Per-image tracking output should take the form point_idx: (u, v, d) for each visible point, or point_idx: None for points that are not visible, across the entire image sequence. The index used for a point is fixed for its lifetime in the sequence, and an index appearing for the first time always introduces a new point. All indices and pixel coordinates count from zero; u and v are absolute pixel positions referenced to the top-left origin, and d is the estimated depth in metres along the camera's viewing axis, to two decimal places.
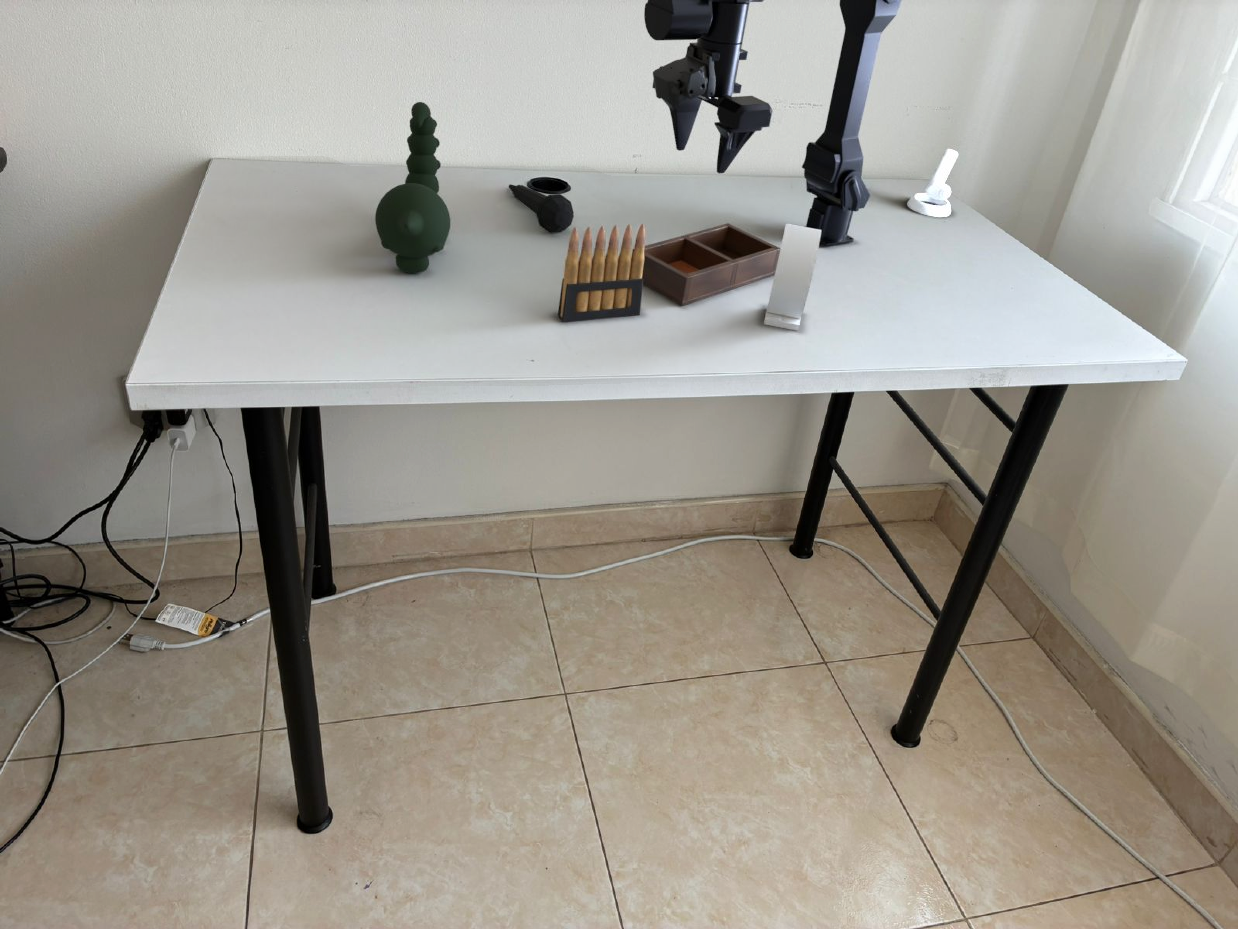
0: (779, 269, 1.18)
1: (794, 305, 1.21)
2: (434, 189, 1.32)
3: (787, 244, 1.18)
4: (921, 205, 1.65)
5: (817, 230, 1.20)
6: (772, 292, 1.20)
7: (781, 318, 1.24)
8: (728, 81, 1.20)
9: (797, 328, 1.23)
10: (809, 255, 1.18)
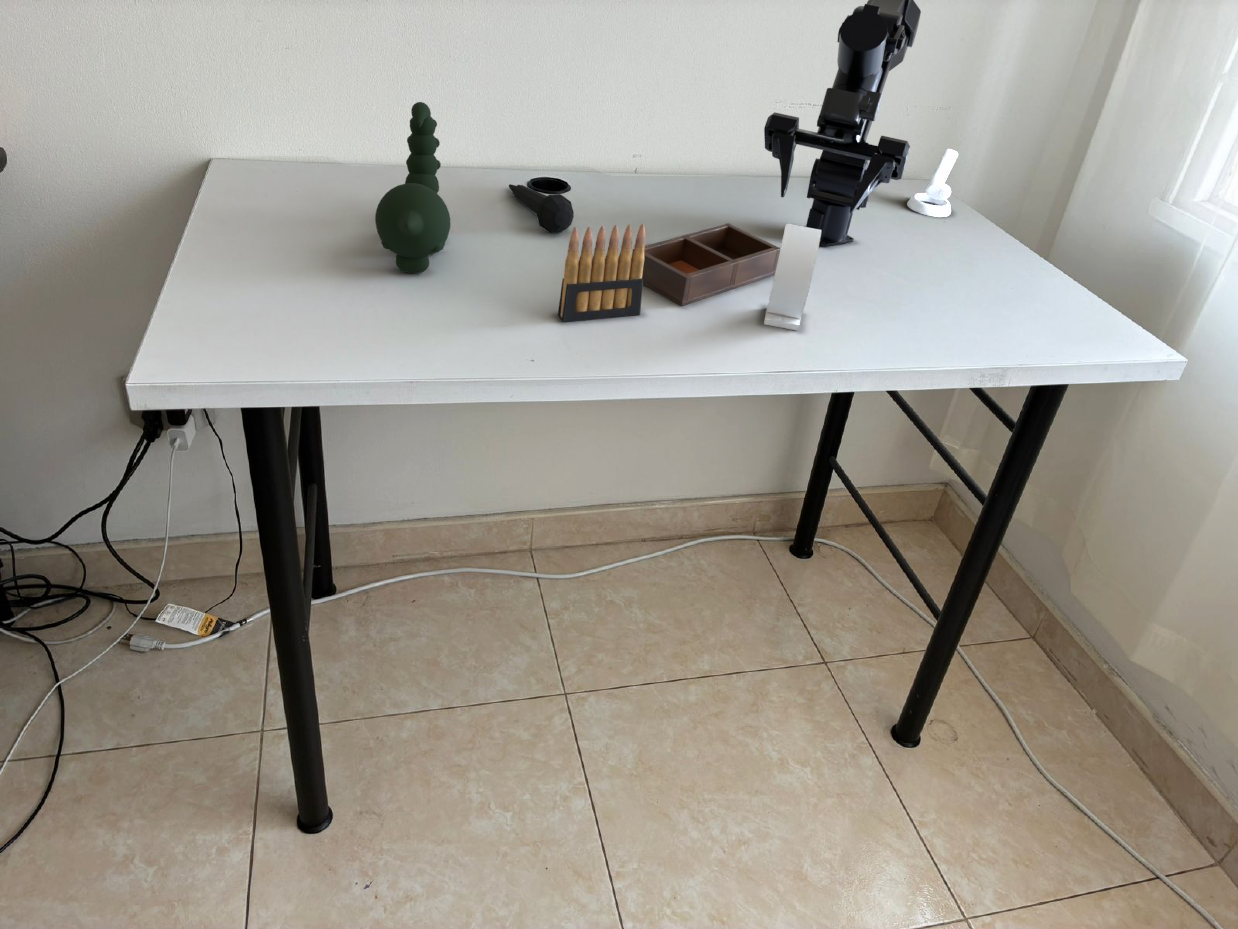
0: (779, 269, 1.18)
1: (794, 305, 1.21)
2: (434, 189, 1.32)
3: (787, 244, 1.18)
4: (921, 205, 1.65)
5: (817, 230, 1.20)
6: (772, 292, 1.20)
7: (781, 318, 1.24)
8: (862, 132, 1.24)
9: (797, 328, 1.23)
10: (809, 255, 1.18)
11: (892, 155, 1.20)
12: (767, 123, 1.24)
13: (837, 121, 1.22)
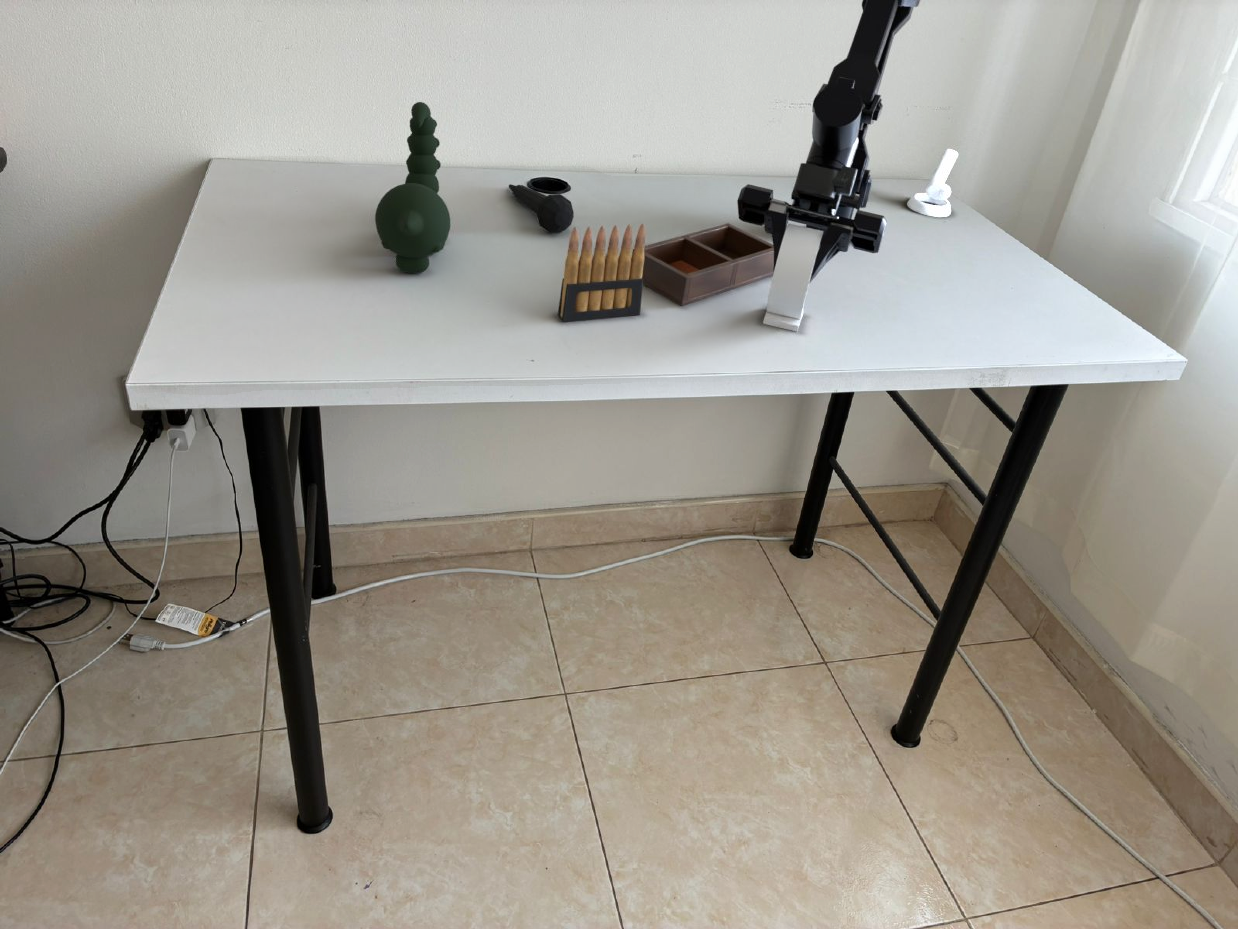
0: (777, 269, 1.18)
1: (793, 306, 1.20)
2: (434, 189, 1.32)
3: (787, 244, 1.18)
4: (921, 205, 1.65)
5: (819, 231, 1.19)
6: (770, 292, 1.20)
7: (781, 318, 1.23)
8: (838, 205, 1.21)
9: (796, 329, 1.23)
10: (808, 255, 1.17)
11: (868, 231, 1.17)
12: (740, 196, 1.20)
13: (812, 195, 1.18)
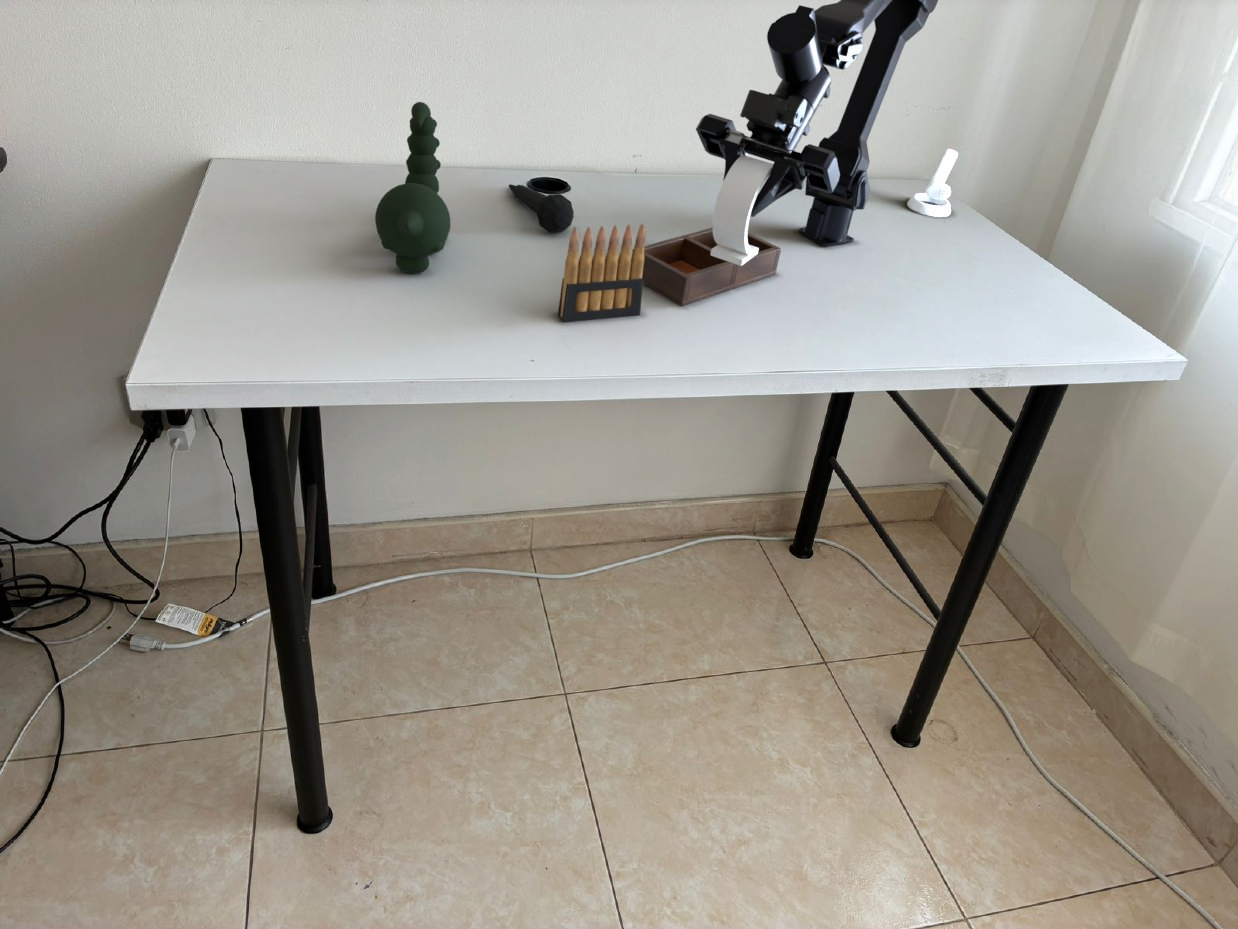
0: (720, 197, 1.18)
1: (735, 237, 1.19)
2: (434, 189, 1.32)
3: (733, 173, 1.17)
4: (921, 205, 1.65)
5: (770, 164, 1.18)
6: (714, 221, 1.19)
7: (728, 251, 1.23)
8: (797, 141, 1.19)
9: (740, 263, 1.21)
10: (750, 186, 1.16)
11: (813, 165, 1.14)
12: (699, 124, 1.21)
13: (765, 126, 1.17)
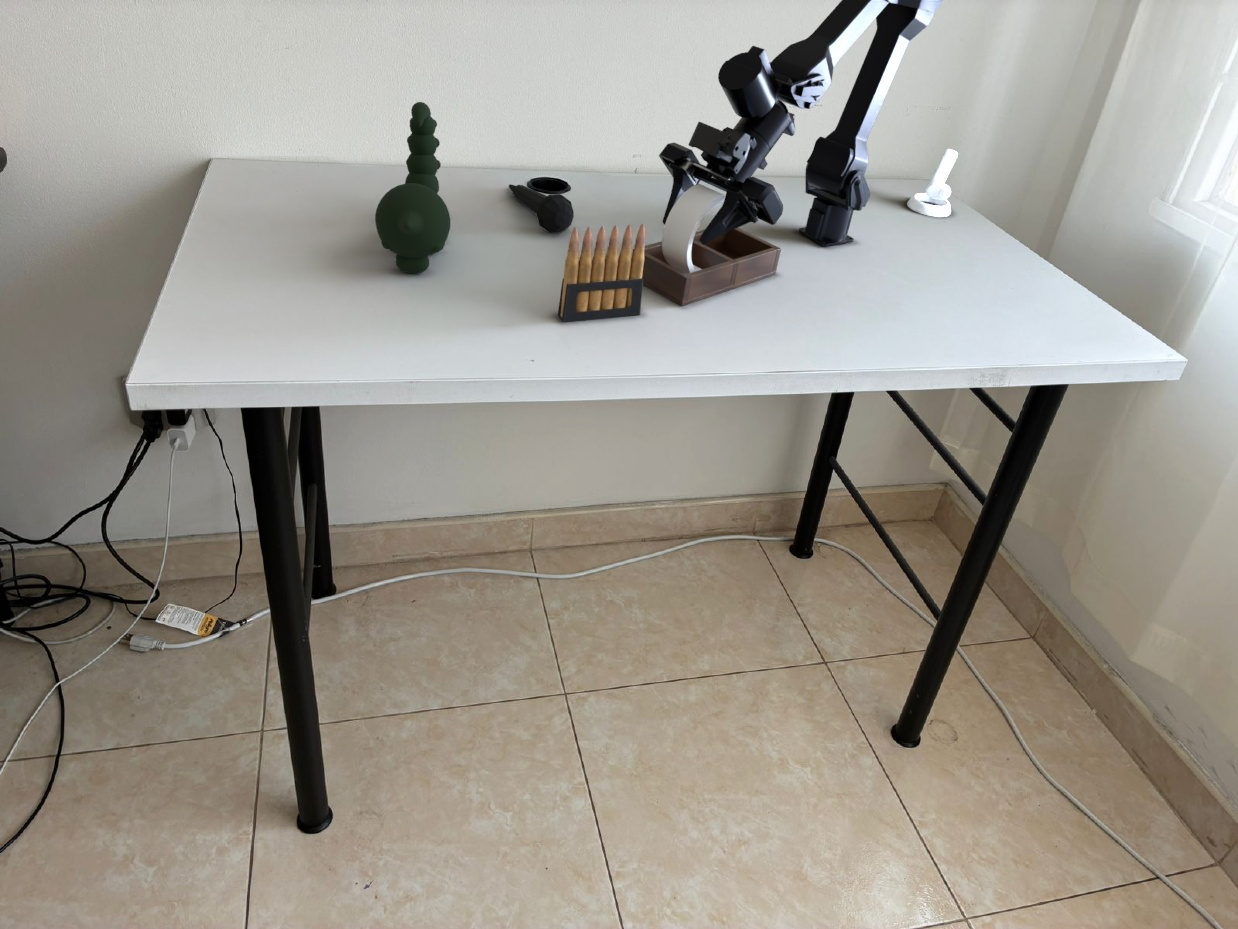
0: (668, 220, 1.25)
1: (680, 259, 1.26)
2: (434, 189, 1.32)
3: (683, 199, 1.25)
4: (921, 205, 1.65)
5: (720, 194, 1.24)
6: (663, 242, 1.27)
7: None
8: (748, 173, 1.24)
9: None
10: (695, 212, 1.23)
11: (751, 196, 1.19)
12: None
13: None
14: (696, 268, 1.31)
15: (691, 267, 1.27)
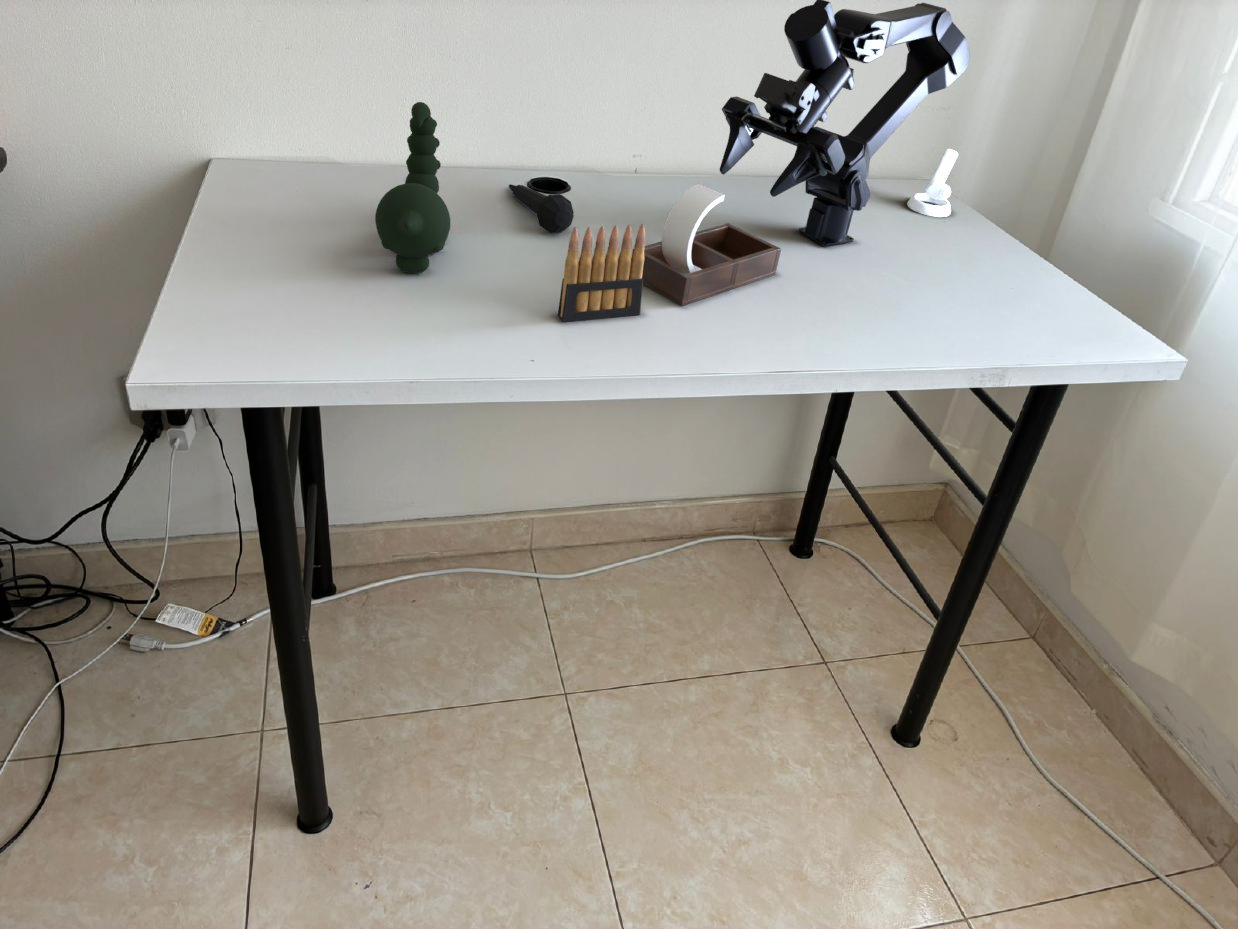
0: (668, 220, 1.25)
1: (680, 259, 1.26)
2: (434, 189, 1.32)
3: (683, 199, 1.25)
4: (921, 205, 1.65)
5: (720, 194, 1.24)
6: (663, 242, 1.27)
7: None
8: (810, 124, 1.28)
9: None
10: (695, 212, 1.23)
11: (815, 144, 1.23)
12: None
13: (780, 108, 1.27)
14: (696, 268, 1.31)
15: (691, 267, 1.27)
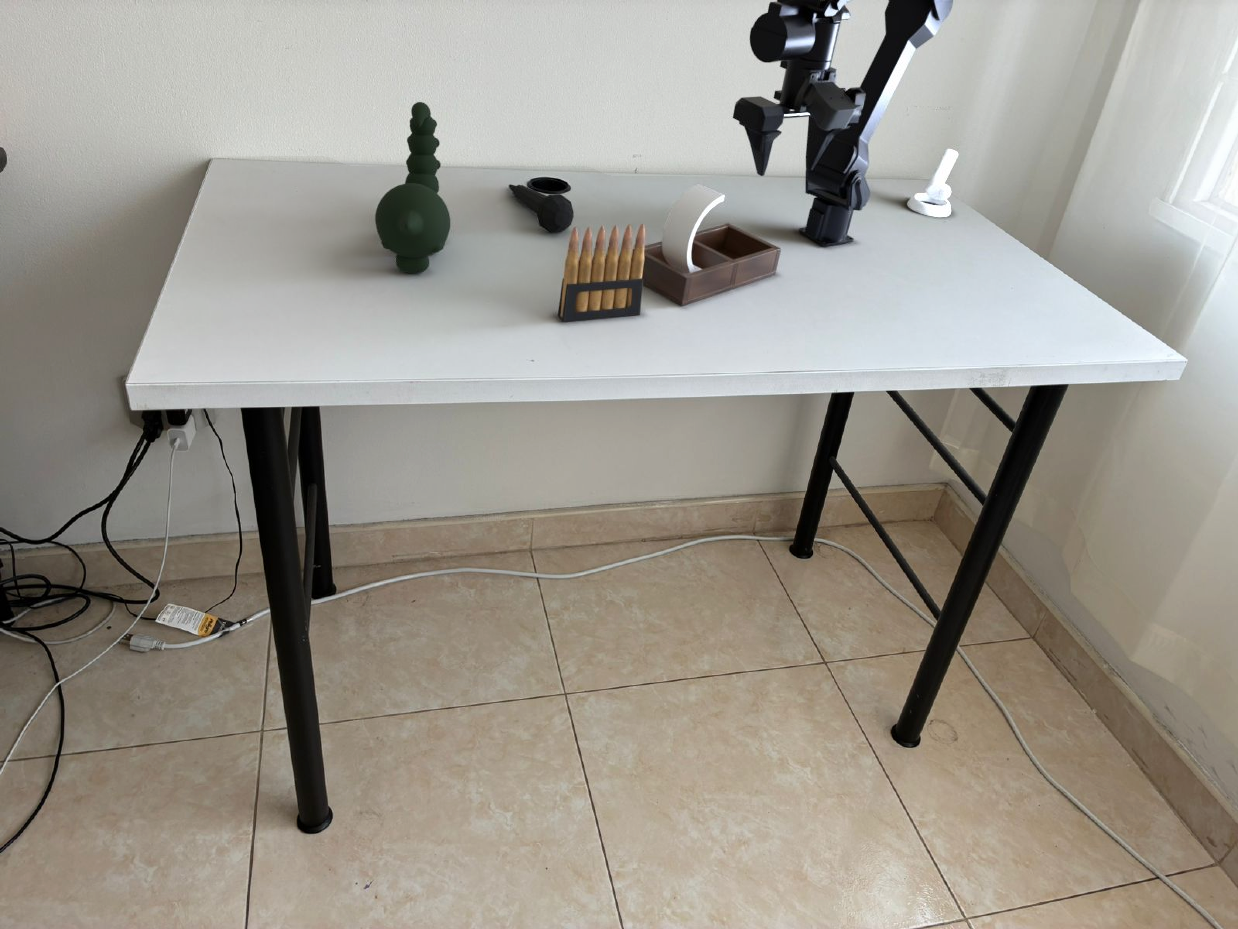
0: (668, 220, 1.25)
1: (680, 259, 1.26)
2: (434, 189, 1.32)
3: (683, 199, 1.25)
4: (921, 205, 1.65)
5: (720, 194, 1.24)
6: (663, 242, 1.27)
7: None
8: None
9: None
10: (695, 212, 1.23)
11: None
12: (760, 125, 1.23)
13: None
14: (696, 268, 1.31)
15: (691, 267, 1.27)
